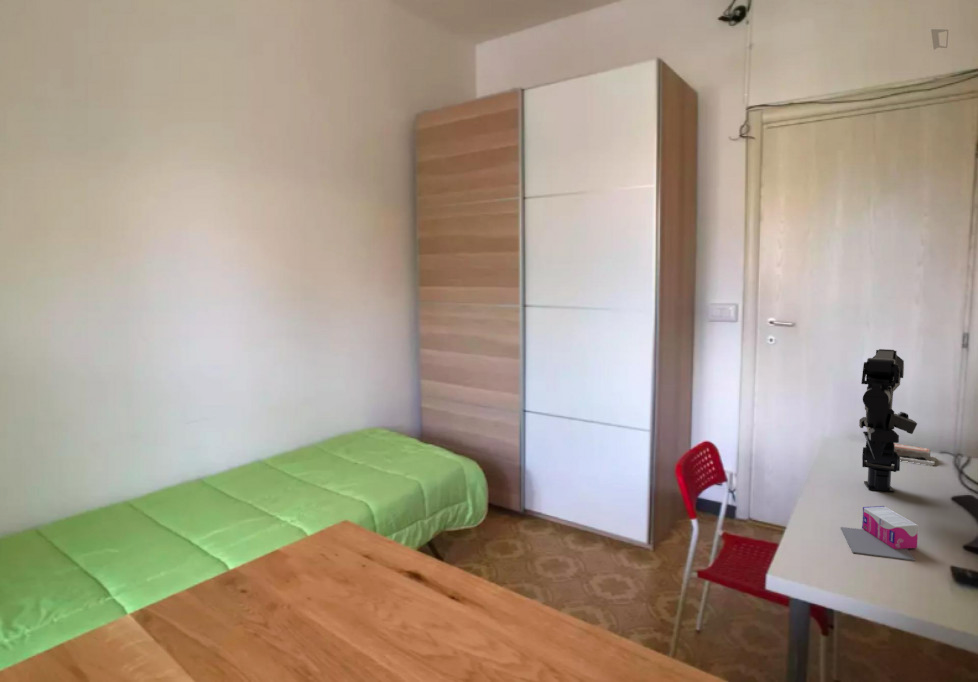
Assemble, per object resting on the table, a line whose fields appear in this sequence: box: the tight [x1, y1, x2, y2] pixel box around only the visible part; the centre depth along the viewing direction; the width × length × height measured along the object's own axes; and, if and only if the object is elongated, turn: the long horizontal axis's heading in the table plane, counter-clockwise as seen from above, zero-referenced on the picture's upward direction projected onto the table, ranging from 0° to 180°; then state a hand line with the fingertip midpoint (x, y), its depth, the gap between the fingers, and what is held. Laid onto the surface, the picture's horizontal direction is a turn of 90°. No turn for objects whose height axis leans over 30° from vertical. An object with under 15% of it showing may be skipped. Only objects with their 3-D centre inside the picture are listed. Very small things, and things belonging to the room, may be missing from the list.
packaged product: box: [894, 443, 937, 466], centre depth 198 cm, size 18×5×10 cm
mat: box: [840, 526, 916, 562], centre depth 138 cm, size 14×12×1 cm
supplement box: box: [861, 505, 919, 549], centre depth 139 cm, size 6×6×12 cm
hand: (877, 459), depth 159 cm, fingers closed
